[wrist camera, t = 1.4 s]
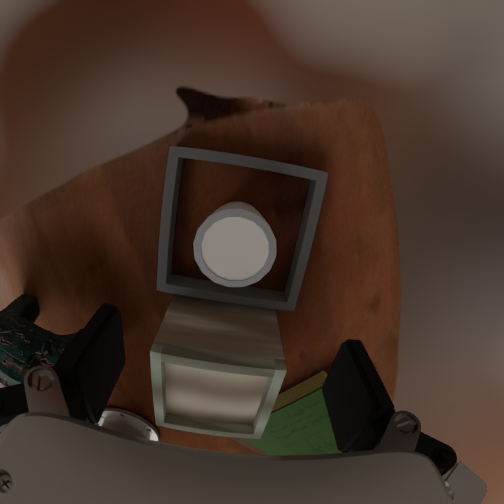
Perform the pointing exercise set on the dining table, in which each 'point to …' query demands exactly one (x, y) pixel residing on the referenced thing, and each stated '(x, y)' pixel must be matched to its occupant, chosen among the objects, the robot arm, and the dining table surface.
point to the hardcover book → (297, 423)
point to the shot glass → (235, 245)
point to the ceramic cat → (26, 341)
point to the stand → (216, 367)
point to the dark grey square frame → (218, 291)
